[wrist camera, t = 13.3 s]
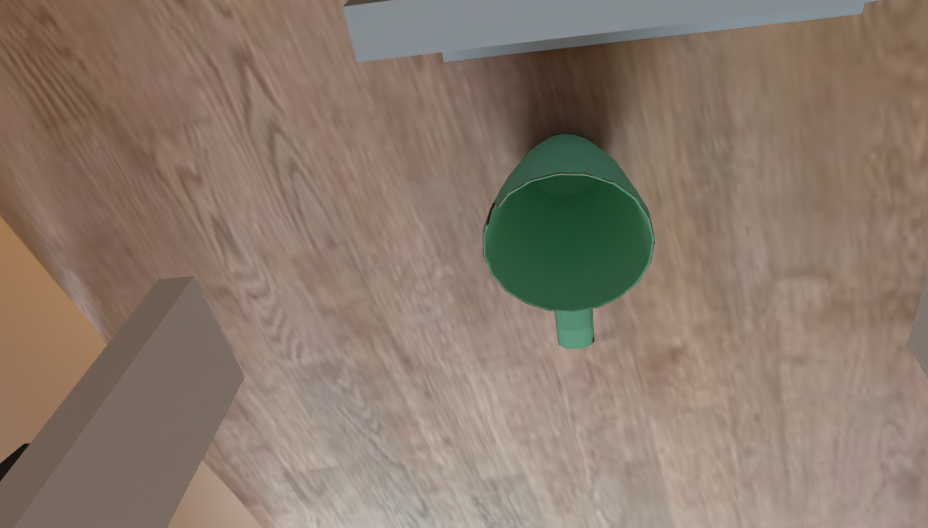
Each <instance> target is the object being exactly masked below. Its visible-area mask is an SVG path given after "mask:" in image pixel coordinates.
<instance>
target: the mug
mask: <svg viewBox="0 0 928 528" xmlns="http://www.w3.org/2000/svg"><path fill="white" fill-rule="evenodd" d="M654 243H655V237H654V233H653V228H652V223H651V219H650V214H649V211H648V208H647V206H646V205H645V204H644V202H643V201H642V199H641V197H640V196H639V194H638V192H637V191H636V189H635V188H634V187H633V185H632V184H631V182H630V181H629V179H628V178H627V177H626V175H625V174H624V172H623V171H622V170H621V168H620V167H619V166H618V164H617V163H616V162H615V161H614V160H613V159H612V158H611V157H610V156H609V155H608V154H607V153H606V152H604V151H603V150H602V149H600V148H599V147H598V146H596V145H595V144H594V143H592V142H590V141H589V140H587V139H585V138H583V137H580V136H577V135H574V134H558V135H555V136H551V137H549V138H547V139H546V140H544V141H543V142H541V143H539V144H538V145H537V146H535V147H534V148H532V149H531V150H530V151H529V152H528V154H527V155H526V156H525V157H524V158H523V159H522V160H521V162H520V163H519V164H518V165H517V167H516V168H515V169H514V170H513V172H512V173H511V174H510V175H509V177H508V178H507V180H506V182H505V183H504V185H503V186H502V188H501V190H500V191H499V193H498V195H497V197H496V199H495V201H494V203H493V205H492V207H491V209H490V211H489V214H488V217H487V219H486V222H485V225H484V229H483V255H484V258H485V260H486V263H487V265H488V268H489V271H490V273H491V275H492V276H493V277H494V278H495V280H496V281H497V282H498V283H499V284H500V285H501V286H502V288H503V289H504V290H505V291H506V292H508V293H509V294H511V295H513V296H514V297H516V298H517V299H519V300H521V301H522V302H524V303H525V304H528V305H532V306H535V307H538V308H542V309H545V310H548V311H554V312H555V321H556V329H557V337H558V343H559V345H560V346H562V347H565V348H570V349H579V348H584V347H588V346H590V345H592V343H593V342H594V329H593V313H592V309H593V308H599V307H601V306H603V305H605V304H607V303H609V302H612V301H614V300H616V299H618V298H620V297H622V296H623V295H624V294H625V293H626V292H628V291H629V290H630V289H631V288H632V287H633V286H635V285H636V284H637V283H638V282H639V281H640V279H641V278H642V276H643V274H644V273H645V271H646V270H647V268H648V266H649V265H650V263H651V260H652V254H653V249H654Z"/></svg>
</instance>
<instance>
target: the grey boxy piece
mask: <svg viewBox="0 0 928 528" xmlns="http://www.w3.org/2000/svg"><path fill="white" fill-rule="evenodd" d="M870 1H878V0H349V1H348V2H347V3H346V4H345V5H344V6H343V9H344V13H345V17H346V21H347V25H348V29H349V33H350V37H351V41H352V45H353V49H354V53H355V57H356V61H357V62H363V61H371V60H380V59H388V58H397V57H405V56H414V55H422V54H430V53H439V52H442V54H443V59H444V62H448V61H457V60H466V59H474V58H483V57H491V56H500V55H509V54H517V53H526V52H535V51H543V50H552V49H561V48H569V47H578V46H587V45H595V44H604V43H613V42H621V41H630V40H639V39H647V38H656V37H664V36H673V35H682V34H690V33H699V32H708V31H716V30H725V29H734V28H742V27H751V26H760V25H768V24H777V23H786V22H794V21H803V20H812V19H820V18H829V17H838V16H846V15H855V14H862V12H863V7H864V2H870Z"/></svg>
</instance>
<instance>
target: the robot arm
mask: <svg viewBox="0 0 928 528" xmlns="http://www.w3.org/2000/svg"><path fill="white" fill-rule="evenodd" d="M907 345H908V347H909V348H910V350H911V351H912V353H913V355H914V356H915V358H916V360H917V361H918V363H919V364H920V366H921V368H922V369H923V371H924V372H925V374H926V376H927V377H928V273H927V277H926V280H925V284H924V288H923V291H922V295H921V298H920V302H919V305H918V309H917V312H916V316H915V319H914V323H913V327H912V330H911V334H910V337H909V341H908V344H907ZM244 377H245V376H244V374H243V372H242V370H241V368H240V366H239V364H238V362H237V360H236V358H235V356H234V354H233V353H232V351H231V349H230V347H229V345H228V343H227V341H226V339H225V337H224V335H223V333H222V331H221V329H220V327H219V325H218V323H217V321H216V319H215V317H214V315H213V313H212V311H211V309H210V307H209V305H208V303H207V301H206V299H205V297H204V295H203V293H202V291H201V289H200V287H199V285H198V283H197V282H196V280H195V278H194V276H193V277H181V278H168V279H159V280H158V281H157V282H156V284H155V285H154V286H153V287H152V289H151V290H150V291H149V293H148V294H147V295H146V296H145V298H144V299H143V300H142V301H141V303H140V304H139V305H138V307H137V308H136V309H135V310H134V312H133V313H132V314H131V316H130V317H129V318H128V319H127V321H126V322H125V323H124V324H123V326H122V327H121V328H120V330H119V331H118V332H117V333H116V335H115V336H114V337H113V338H112V340H111V341H110V342H109V344H108V345H107V346H106V348H105V349H104V350H103V351H102V353H101V354H100V355H99V357H98V358H97V359H96V360H95V362H94V363H93V364H92V365H91V367H90V368H89V369H88V370H87V372H86V373H85V374H84V376H83V377H82V378H81V379H80V381H79V382H78V383H77V384H76V386H75V387H74V388H73V390H72V391H71V392H70V393H69V395H68V396H67V397H66V399H65V400H64V401H63V402H62V404H61V405H60V406H59V407H58V409H57V410H56V411H55V413H54V414H53V415H52V416H51V418H50V419H49V420H48V421H47V423H46V424H45V425H44V427H43V428H42V429H41V430H40V432H39V433H38V434H37V436H36V437H35V438H34V439H33V441H32V442H31V443H30V444H23V445H22V446H21V447H20V448H18V449H17V450H16V451H15V452H14V453H12V454H11V455H10V456H9V457H8V458H6V459H5V460H4V461H3V462H2V463H0V528H167V527H168V525H169V522H170V520H171V519H172V517H173V515H174V513H175V511H176V509H177V507H178V505H179V503H180V501H181V499H182V497H183V495H184V493H185V492H186V490H187V487H188V486H189V484H190V482H191V480H192V478H193V476H194V474H195V472H196V470H197V468H198V466H199V464H200V462H201V460H202V458H203V457H204V455H205V453H206V451H207V449H208V447H209V445H210V443H211V441H212V439H213V437H214V435H215V433H216V431H217V429H218V427H219V425H220V423H221V422H222V420H223V418H224V416H225V414H226V412H227V410H228V408H229V406H230V404H231V402H232V400H233V398H234V396H235V394H236V392H237V390H238V388H239V387H240V385H241V383H242V381H243V379H244Z"/></svg>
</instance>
